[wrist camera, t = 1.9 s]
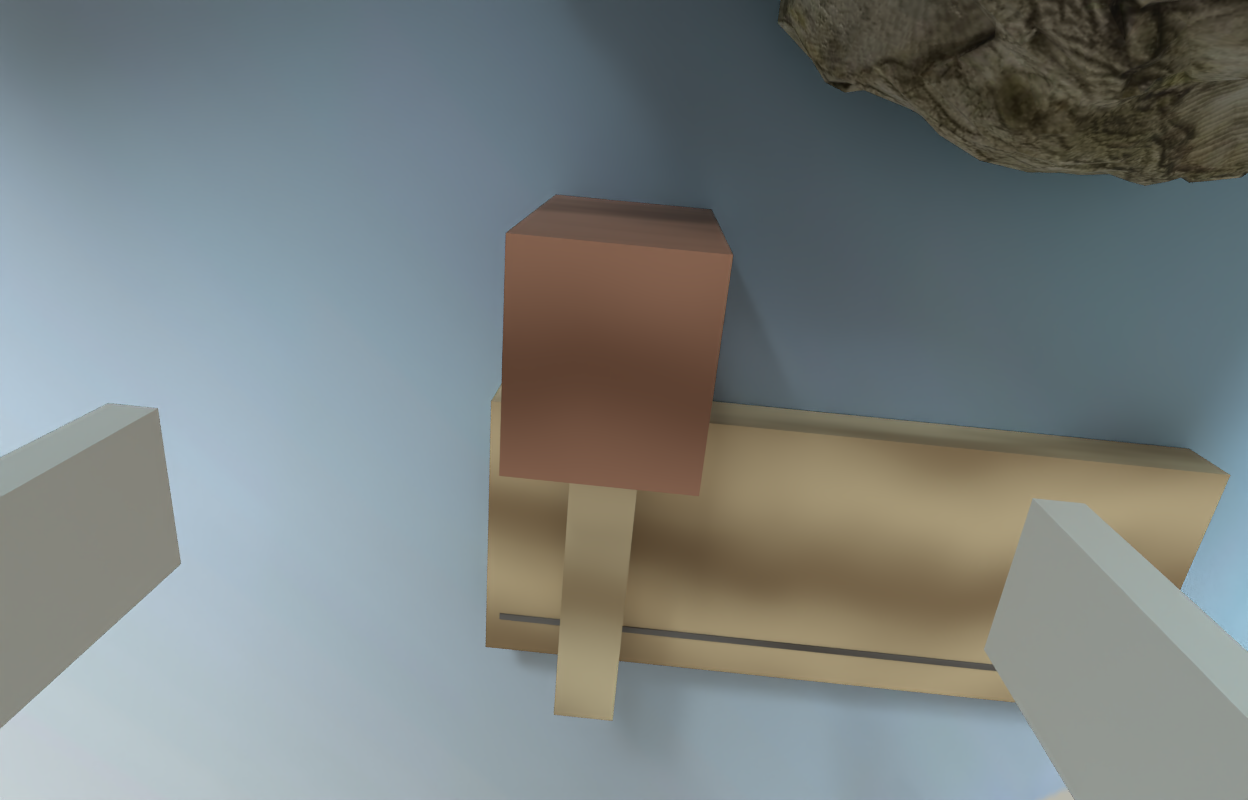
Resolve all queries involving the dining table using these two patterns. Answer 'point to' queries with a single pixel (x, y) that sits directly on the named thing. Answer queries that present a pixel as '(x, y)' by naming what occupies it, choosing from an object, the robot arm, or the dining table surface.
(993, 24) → the hollow geode rock
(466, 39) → the dining table surface
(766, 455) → the board
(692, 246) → the brown block with handle
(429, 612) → the dining table surface
